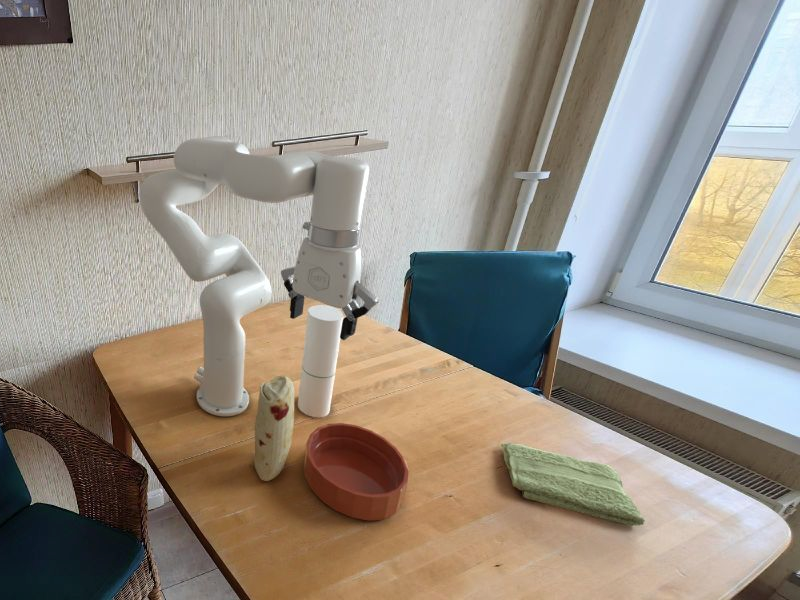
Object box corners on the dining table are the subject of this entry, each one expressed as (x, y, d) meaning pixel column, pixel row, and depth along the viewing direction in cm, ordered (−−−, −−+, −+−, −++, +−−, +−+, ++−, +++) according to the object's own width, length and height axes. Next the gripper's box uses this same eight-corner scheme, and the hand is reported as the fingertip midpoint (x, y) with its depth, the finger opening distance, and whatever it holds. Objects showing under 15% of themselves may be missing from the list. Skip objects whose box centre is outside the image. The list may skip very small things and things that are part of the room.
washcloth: (496, 446, 88) (500, 434, 87) (610, 476, 80) (616, 463, 79) (511, 496, 77) (516, 483, 76) (646, 536, 70) (654, 522, 68)
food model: (278, 493, 79) (287, 405, 72) (244, 477, 82) (249, 392, 75) (294, 457, 86) (303, 375, 79) (262, 444, 90) (268, 364, 83)
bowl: (285, 476, 82) (288, 452, 80) (332, 433, 92) (336, 411, 90) (375, 542, 70) (381, 516, 68) (418, 484, 80) (424, 460, 78)
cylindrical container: (329, 400, 102) (342, 307, 93) (330, 420, 96) (344, 322, 87) (298, 394, 104) (308, 303, 96) (296, 413, 98) (307, 318, 89)
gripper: (274, 228, 73) (267, 315, 80) (376, 254, 61) (357, 355, 68) (298, 219, 78) (289, 303, 84) (397, 242, 66) (378, 337, 72)
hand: (320, 326), depth 76 cm, fingers open, 9 cm apart
